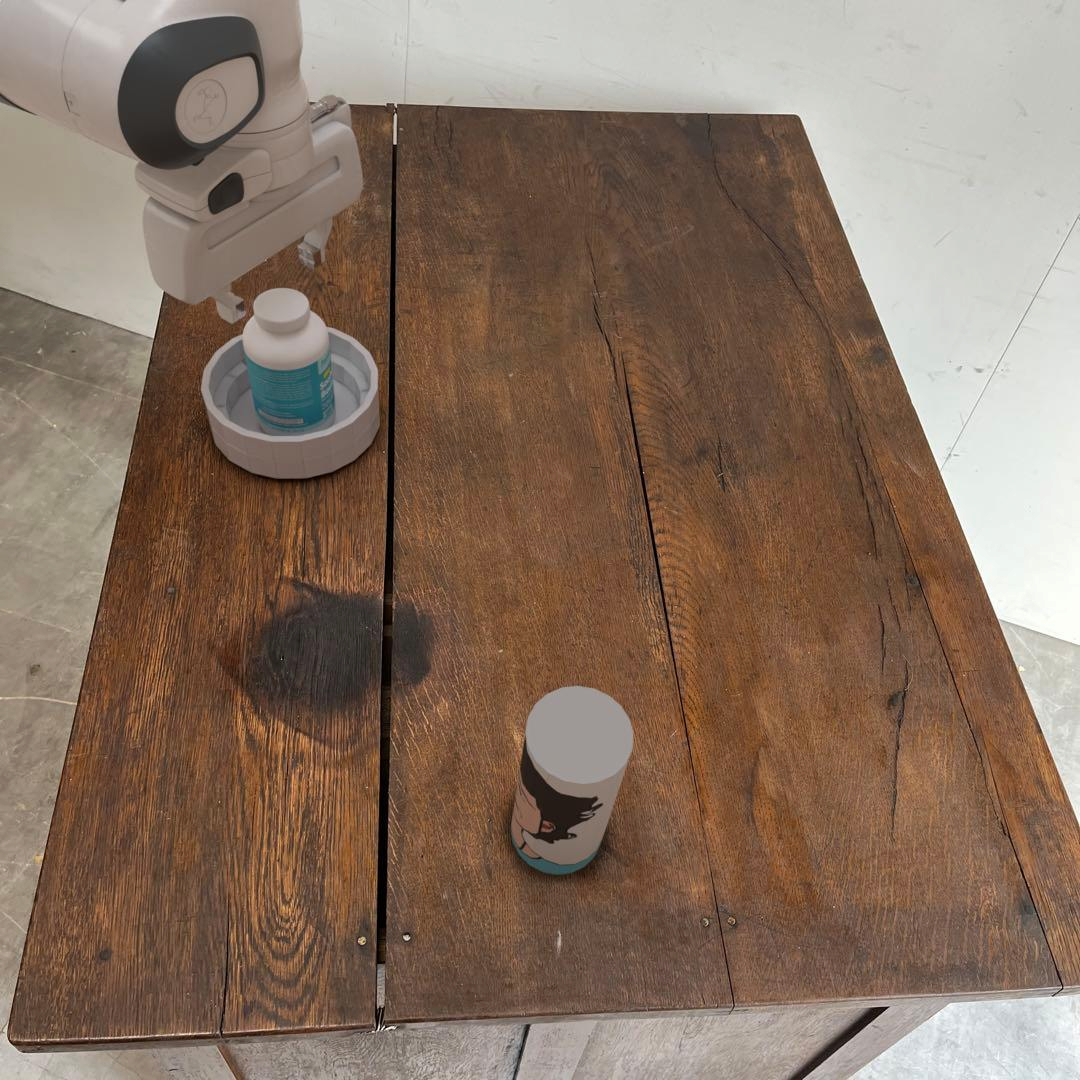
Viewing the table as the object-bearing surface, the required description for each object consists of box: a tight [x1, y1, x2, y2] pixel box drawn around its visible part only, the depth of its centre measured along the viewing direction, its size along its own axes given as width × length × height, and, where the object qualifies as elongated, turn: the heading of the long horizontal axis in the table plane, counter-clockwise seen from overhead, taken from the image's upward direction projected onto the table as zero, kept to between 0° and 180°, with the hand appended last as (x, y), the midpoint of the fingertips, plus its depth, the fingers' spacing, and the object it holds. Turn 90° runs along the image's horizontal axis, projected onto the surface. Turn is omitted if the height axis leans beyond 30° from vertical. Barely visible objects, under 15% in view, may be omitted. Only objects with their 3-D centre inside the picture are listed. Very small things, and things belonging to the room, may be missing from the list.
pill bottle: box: [242, 287, 336, 436], centre depth 93 cm, size 8×7×14 cm
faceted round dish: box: [200, 326, 381, 480], centre depth 96 cm, size 16×16×6 cm
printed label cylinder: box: [510, 685, 635, 876], centre depth 70 cm, size 7×7×15 cm
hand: (273, 289), depth 87 cm, fingers open, 8 cm apart
